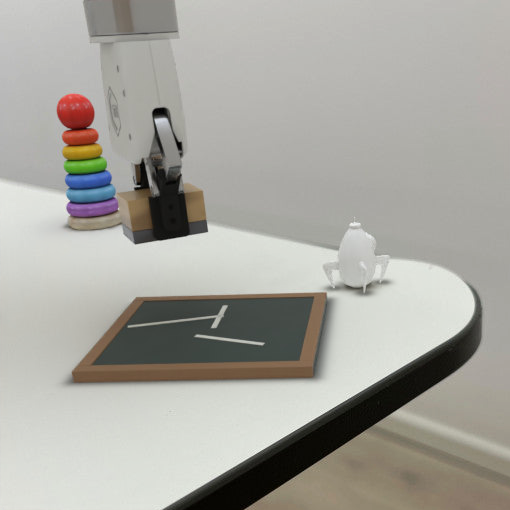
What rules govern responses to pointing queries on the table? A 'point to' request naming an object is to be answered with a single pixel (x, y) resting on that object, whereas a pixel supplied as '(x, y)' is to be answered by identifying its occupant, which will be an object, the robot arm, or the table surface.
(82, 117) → the stacking toy
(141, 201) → the eraser
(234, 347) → the chalkboard
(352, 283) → the rocket toy
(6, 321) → the table surface
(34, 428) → the table surface
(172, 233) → the robot arm
